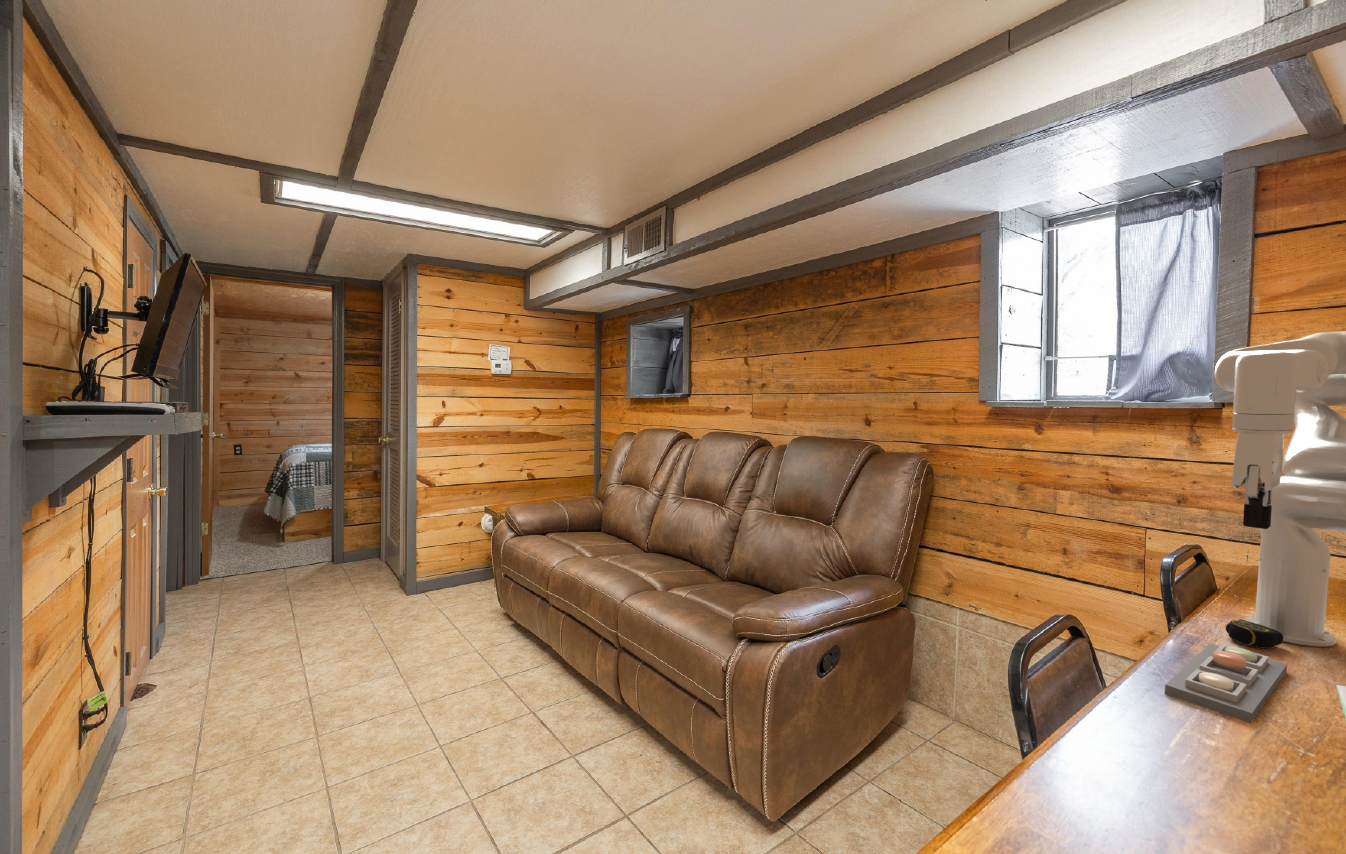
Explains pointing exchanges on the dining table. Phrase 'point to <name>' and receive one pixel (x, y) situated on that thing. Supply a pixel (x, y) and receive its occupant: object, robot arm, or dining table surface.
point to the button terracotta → (1229, 659)
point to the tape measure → (1253, 634)
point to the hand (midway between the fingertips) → (1256, 526)
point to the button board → (1247, 688)
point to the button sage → (1243, 653)
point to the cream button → (1216, 681)
